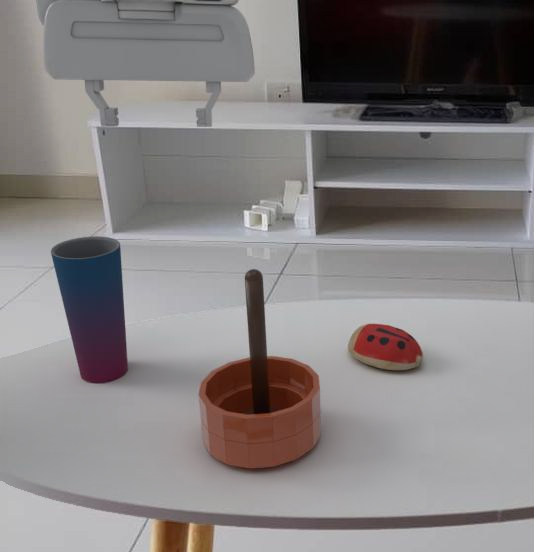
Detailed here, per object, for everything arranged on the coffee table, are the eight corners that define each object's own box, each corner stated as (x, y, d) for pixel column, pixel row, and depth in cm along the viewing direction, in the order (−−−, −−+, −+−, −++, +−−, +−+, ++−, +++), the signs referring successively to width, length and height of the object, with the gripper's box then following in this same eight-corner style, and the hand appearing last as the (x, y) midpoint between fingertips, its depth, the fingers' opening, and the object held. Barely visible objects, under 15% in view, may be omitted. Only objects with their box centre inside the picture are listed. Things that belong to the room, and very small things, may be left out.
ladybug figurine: (365, 336, 94) (366, 311, 92) (435, 357, 89) (437, 330, 88) (335, 359, 88) (334, 332, 87) (408, 382, 84) (408, 354, 82)
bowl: (199, 478, 68) (193, 421, 65) (209, 410, 78) (204, 359, 75) (323, 468, 69) (322, 413, 67) (317, 403, 79) (316, 353, 77)
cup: (143, 376, 84) (128, 250, 78) (80, 393, 80) (58, 263, 74) (126, 351, 89) (110, 232, 83) (65, 366, 85) (44, 243, 80)
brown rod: (239, 447, 71) (226, 280, 64) (241, 421, 75) (229, 261, 68) (286, 444, 72) (278, 278, 65) (285, 418, 76) (278, 259, 69)
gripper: (23, -23, 69) (42, 129, 73) (251, -15, 72) (256, 130, 76) (43, -19, 75) (59, 122, 79) (252, -12, 78) (256, 122, 82)
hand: (157, 126), depth 78 cm, fingers open, 8 cm apart
